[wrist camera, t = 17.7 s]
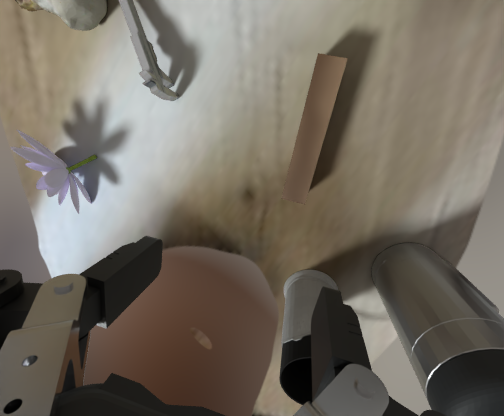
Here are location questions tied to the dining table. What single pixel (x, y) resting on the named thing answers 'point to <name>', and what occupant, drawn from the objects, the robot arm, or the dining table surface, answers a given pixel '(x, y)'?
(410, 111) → the dining table surface
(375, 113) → the dining table surface
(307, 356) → the glass holder
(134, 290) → the robot arm
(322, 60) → the walnut bar
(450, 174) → the dining table surface
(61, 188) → the water lily
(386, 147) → the dining table surface
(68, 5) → the ceramic sculpture
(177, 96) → the caliper
